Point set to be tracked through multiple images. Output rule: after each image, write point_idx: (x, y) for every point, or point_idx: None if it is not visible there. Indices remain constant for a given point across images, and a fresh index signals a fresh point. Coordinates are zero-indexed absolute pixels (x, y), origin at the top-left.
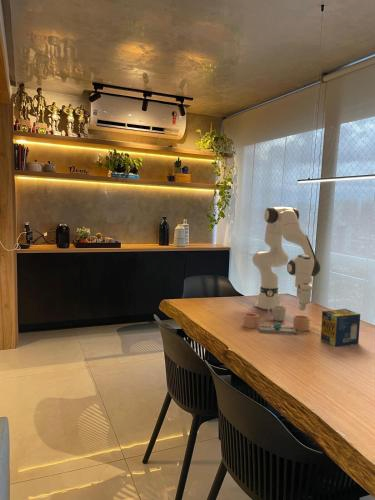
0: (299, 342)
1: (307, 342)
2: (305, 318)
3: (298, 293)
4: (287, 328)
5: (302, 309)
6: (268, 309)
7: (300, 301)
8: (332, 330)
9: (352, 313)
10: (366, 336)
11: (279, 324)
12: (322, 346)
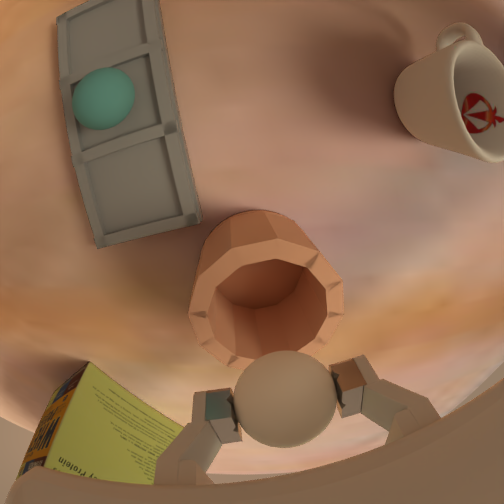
0: (5, 267)
1: (25, 303)
2: (306, 329)
3: (477, 491)
4: (170, 172)
5: (195, 396)
6: (461, 23)
7: (395, 410)
8: (36, 432)
9: None
10: (245, 469)
11: (78, 118)
12: (28, 355)
